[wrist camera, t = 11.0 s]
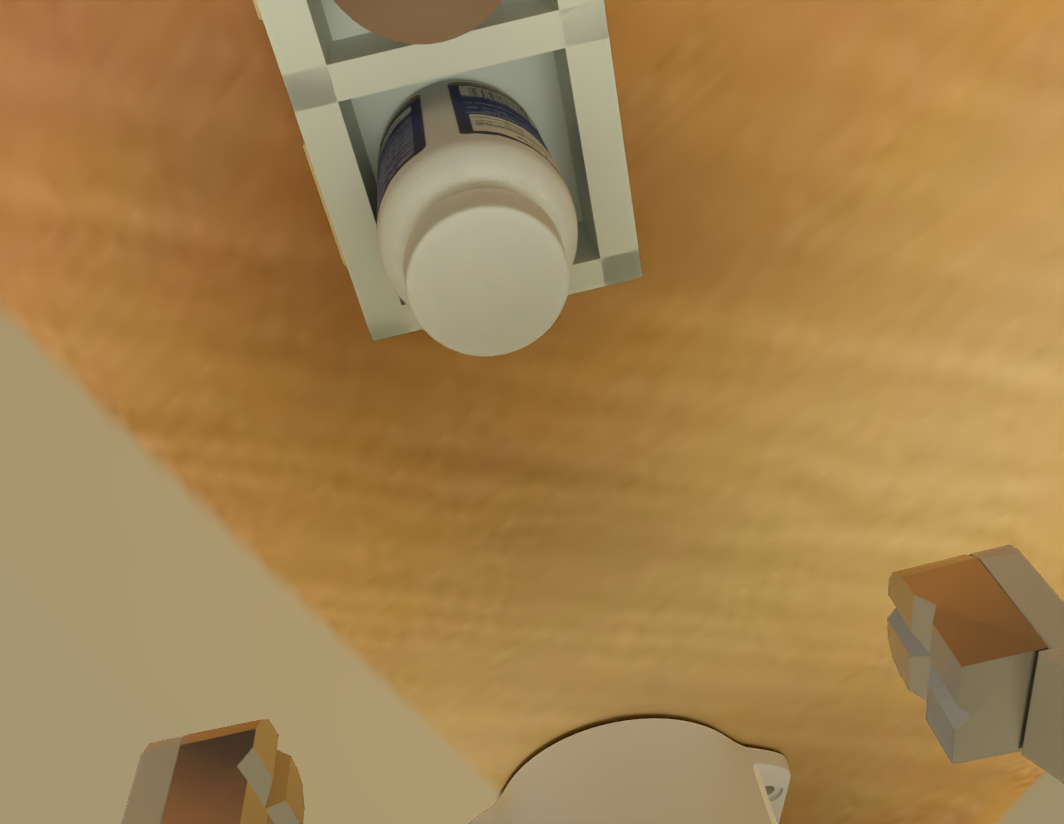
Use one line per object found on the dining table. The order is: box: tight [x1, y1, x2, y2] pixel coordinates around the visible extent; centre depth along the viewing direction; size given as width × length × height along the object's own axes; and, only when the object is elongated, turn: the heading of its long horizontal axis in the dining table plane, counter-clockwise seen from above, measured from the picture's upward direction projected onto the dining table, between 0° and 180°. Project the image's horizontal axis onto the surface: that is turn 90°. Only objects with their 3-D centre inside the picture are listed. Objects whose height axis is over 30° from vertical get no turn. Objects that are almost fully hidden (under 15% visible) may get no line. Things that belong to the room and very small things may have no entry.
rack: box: [253, 0, 642, 341], centre depth 27 cm, size 16×9×4 cm, turn 11°
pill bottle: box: [377, 79, 578, 356], centre depth 26 cm, size 5×5×10 cm
